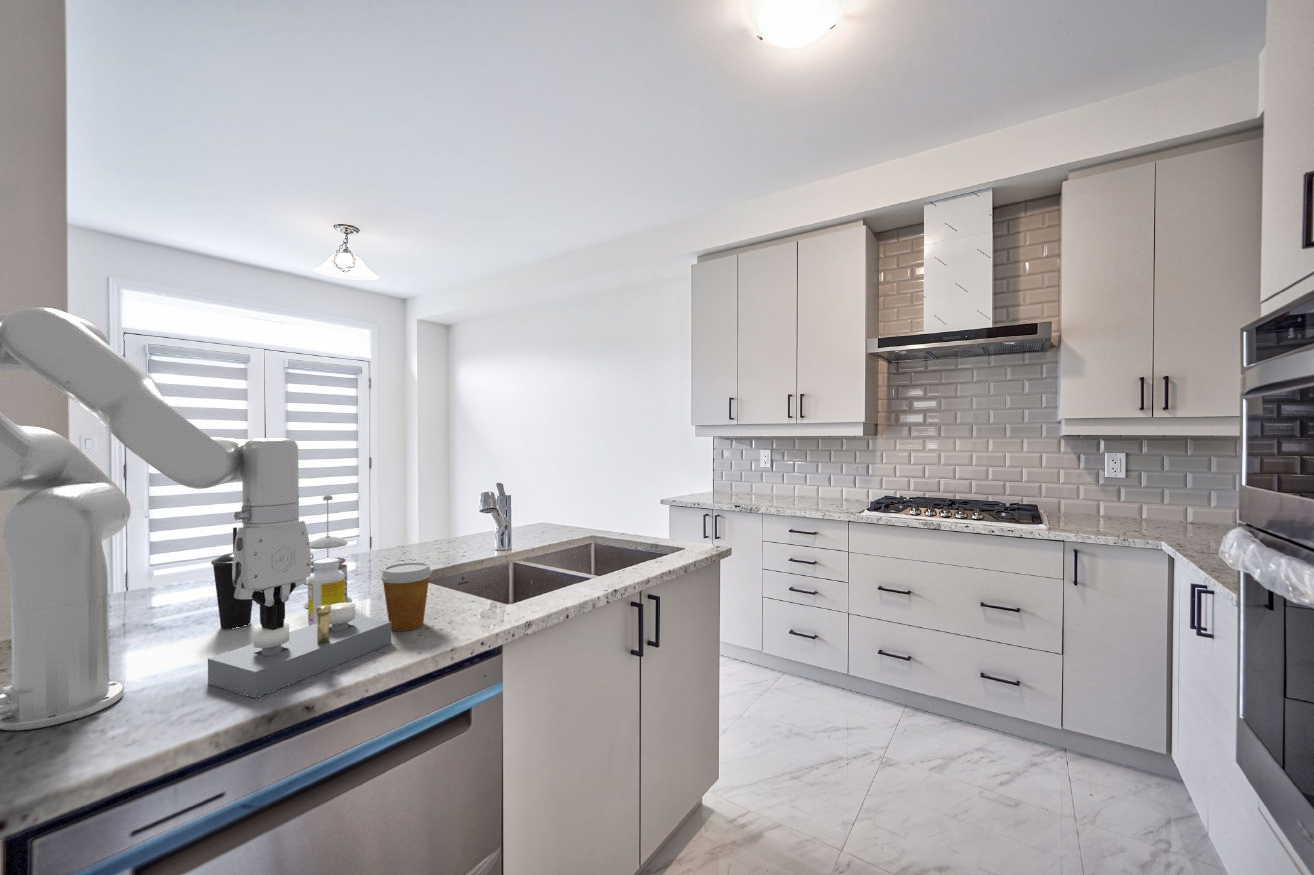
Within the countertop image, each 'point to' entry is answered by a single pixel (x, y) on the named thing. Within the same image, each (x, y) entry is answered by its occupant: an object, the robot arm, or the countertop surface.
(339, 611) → the knob far
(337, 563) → the supplement bottle
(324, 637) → the brass post
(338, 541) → the french press
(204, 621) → the countertop surface
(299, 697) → the countertop surface
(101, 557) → the robot arm
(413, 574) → the disposable coffee cup
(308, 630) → the mount
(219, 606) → the drinking cup
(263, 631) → the knob near
